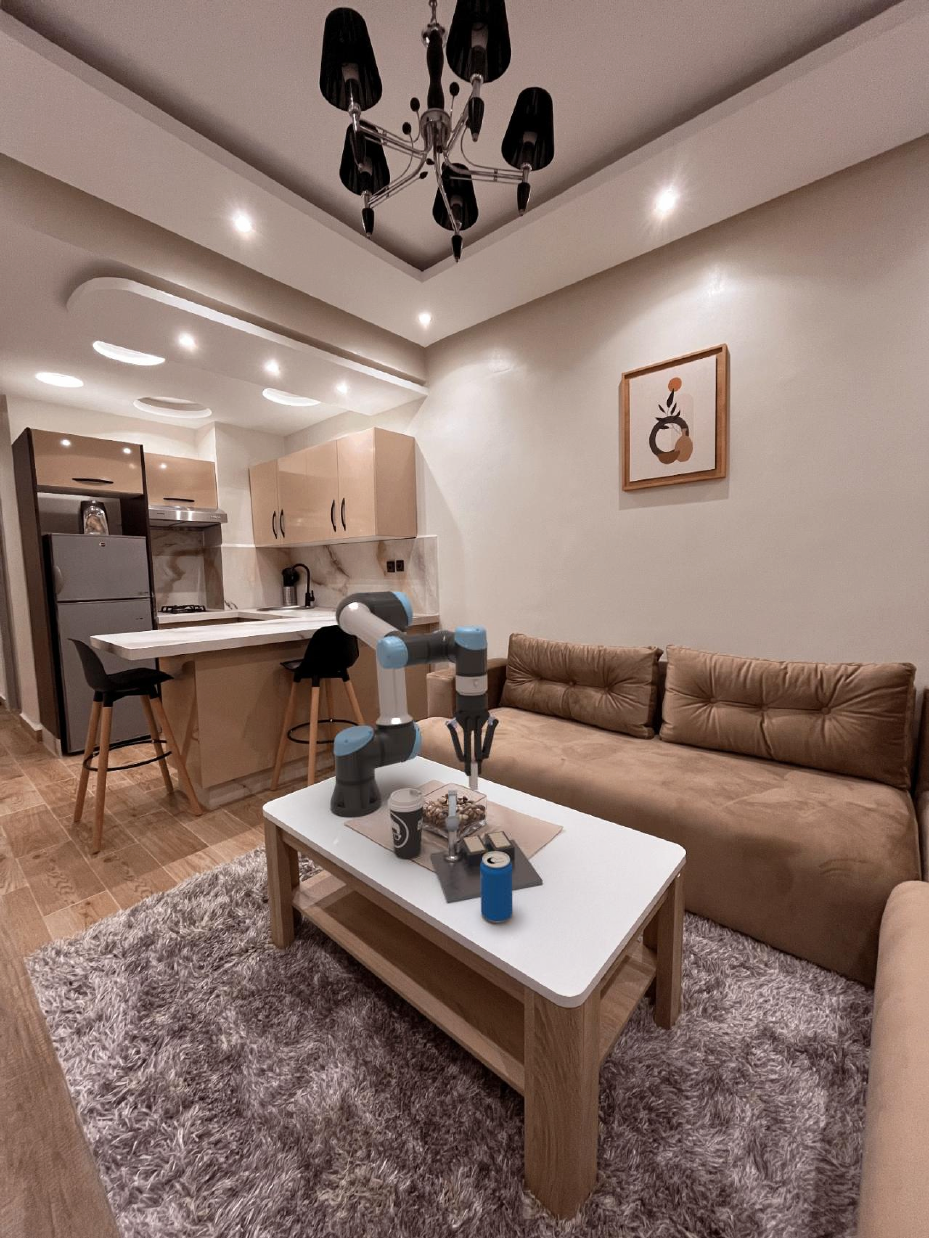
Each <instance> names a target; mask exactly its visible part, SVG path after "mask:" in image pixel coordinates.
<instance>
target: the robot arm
mask: <svg viewBox="0 0 929 1238" xmlns="http://www.w3.org/2000/svg"><path fill="white" fill-rule="evenodd" d="M413 612H414V611H413V608H412V604H411V601H410V600H409V598H408V597H407V596H406V594H404V592H401V591H392V590H387V591H386V590H385V591H372V592H371V591H369V592H366V591H365V592H355V593H351V594H349V595H347V596H345V598H342V599H341V600H340V602H339V603H338V605H337V607H336V609H335V613H334V614H335V615H334V616H335V621H336V624H337V626H338V627H339V628H340V629H341V630H342V631H343V632H345V634H346V633H347V635H348V634H349V635H351V636H356V637H357V638H358V639H360V640H362V641H363V642H364V643H366V644H367V645H368V646H369V647H371V648H372V649H373V650H375V660H376V671H377V672H376V673H377V675H376V676H377V688H378V702H379V713H380V714H379V717H378V718H377V719H376V721H375V728H373V727H372V726H370V725H366V724H365V725H355V726H352V727H348V728H346V729H343V730H341V731H340V732H339V733H338V734H336V736H335V738H334V742H333V743H334V744H333V745H334V747H333V754H334V755H333V756H334V771H335V773H334V774H335V776H334V777H335V784H334V788H333V791H332V795H331V799H330V811H331V812H332V813H333V814H334V815H337V816H340V817H346V818H347V817H349V818H353V817H354V818H355V817H363V816H366V815H370V814H371V813H373V812H375V811H376V810H378V809H379V808H380V807H381V806H382V794H381V791H380V789H379V786H378V783H377V781H376V777H375V775H376V774H375V773H376V771H375V770H376V769H378V768H383V767H386V766H392V765H395V764H399V763H401V764H402V763H405V762H407V761H411V760H414V759H415V758H416V757H417V756H418V755H419V753H420V751H421V747H422V732H421V731H420V730H421V729H420V726H419V724H417V723H416V722H415V721H414V719H413V716H411V715H410V714H409V713H408V702H407V687H406V686H407V685H406V673H405V668H410V667H411V668H412V667H416V666H423V665H431V664H441V663H452V664H455V665H454V666H455V690H456V691H457V692H456V693H455V702H456V703H455V706H456V709H455V712H454V716H453V718H452V719H451V720H450V721H449V720H448V721H446V722H445V723H444V725H445V726H446V727H447V729H448V731H449V732H450V734H449V735H450V737H451V741H452V743H453V745H452V746H453V748H454V752H455V755H456V759H457V760H458V761H459V762H460V763H464V774H465V775H466V777H468V787H469V788H470V790H471V791H472V792H473V791H478V790H479V784H478V783H479V776H480V775H482V763H483V762H484V760H488V759H489V758H490V753H491V750H492V745H493V740H494V735H495V732H496V731H495V730H496V728H497V726H498V725H499V722H500V721H499V719H498V718H496V717H495V716H493V715H491V713H490V711H489V709H488V707H489V701H488V700H489V699H488V698H489V697H488V696H489V693H487V691H488V640H487V637H488V636H487V630H486V628H484V627H483V626H479V625H477V626H476V625H465V626H458V627H456V628H455V630H454V631H451V630H448V629H445V630H444V629H443V630H441V629H439V630H435V631H433V632H428V633H415V634H407V628H409V627H410V626H411V625H412V623H413V618H414V613H413ZM486 723H487V726H486V730H485V734H484V740H483V742H482V735H483V728H484V727H485V725H486ZM457 724H458V725H459V726H460V727H461V728H462V733H463V750H462V747H461V746H462V745H461V743H460V738H459V735H458V732H457V728H458V725H457ZM472 734H473V757H474V759H472ZM482 743H483V744H482Z"/></svg>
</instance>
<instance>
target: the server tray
mask: <svg viewBox="0 0 929 1238" xmlns="http://www.w3.org/2000/svg"><path fill="white" fill-rule="evenodd" d="M447 835H448V837H447V838H448V839H447V840H448V843H447V844H448V850H442V851H436V852H430V854H429V855H430V859H431V863H432V865H433V869H434V870H435V873H436V875H437V879H438V881H439V883H440V884H439V885H440V887H441V889H442V893H443V895H444V898H445V900H446V904H449V903H455V902H460V901H461V902H462V901H464V900H465V901H466V900H470V899H475V898H481V877H480V864H481V861H482V858H483V856H484V855H485V854H486V853H489V852H493V851H498V852H503V853H505V854H507V855H508V856H509V858H510V861H511V863H512V891H516V890H521V889H525V888H531V887H536V886H542V885H543V879H542V877H541V876H540V874H539V873H538V872H537V870H536V869H535V868H534V867H535V866H533V865H532V863H531V862H530V861H529V858H527V856H526V855H525V853H524V852H523V851H522V849H521V848H520V846H519V844H518V843H517V842H516V840H515V839H509V837H508V836H507V834H506V833H505V831H503V830H501V831H495V832H490V833H484V841H483V839H482V838H481V836H480V835H479V834H477V835H470V836H466V837H459V848H458V843H457V839H458V838H457V836H458V835H457V830H454V831H450V830H447Z"/></svg>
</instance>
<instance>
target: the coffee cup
mask: <svg viewBox="0 0 929 1238" xmlns="http://www.w3.org/2000/svg"><path fill="white" fill-rule="evenodd" d="M425 799H426V798H425V796H424V795H423V793H422V791H421V790H419V789H416V788H411V787H410V788H409V787H407V788H399V789H397V790H394V791H393V792H391V793H390V796H389V798H388V799H387V803H386V804H387V808H388V809H389V815H390V816H389V817H390V822H391V823H390V826H391V830H392V831H391V832H392V839H393V841H392V842H393V847H394V850H393V851H394V855H395V857H396V858H398V859H401V860H411V859H414V858H417V857H418V856H419V855H420V854H421V851H422V837H423V819H424V818H423V817H424V807H425V805H426V800H425Z"/></svg>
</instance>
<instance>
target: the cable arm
mask: <svg viewBox="0 0 929 1238" xmlns="http://www.w3.org/2000/svg"><path fill="white" fill-rule="evenodd" d="M447 799H448V802H447V803H448V817H446V818H445V829H446V830H447V831H448V830H450V831H454V830H456V831H457V830H458V829H459V828H460V823H459V821H460V819H459V817H457V803H458V790H456V789H454V790H451V789H450V790H448V792H447Z"/></svg>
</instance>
